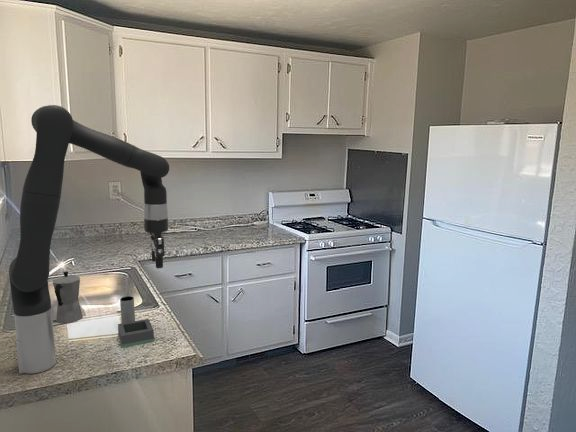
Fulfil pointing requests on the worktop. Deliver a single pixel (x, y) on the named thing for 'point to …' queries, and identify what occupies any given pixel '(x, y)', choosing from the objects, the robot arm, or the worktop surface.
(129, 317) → the dark grey cylinder
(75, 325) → the worktop surface
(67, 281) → the coffeepot
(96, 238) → the worktop surface
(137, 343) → the socket board
